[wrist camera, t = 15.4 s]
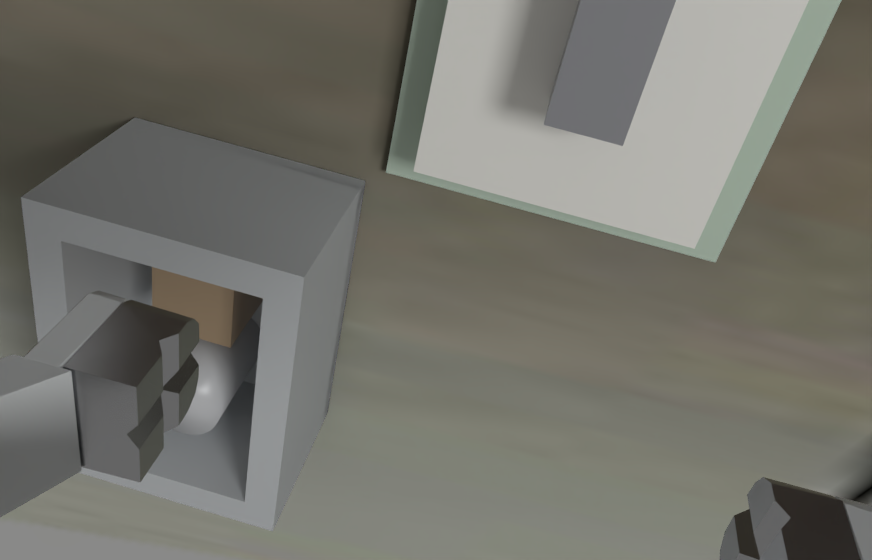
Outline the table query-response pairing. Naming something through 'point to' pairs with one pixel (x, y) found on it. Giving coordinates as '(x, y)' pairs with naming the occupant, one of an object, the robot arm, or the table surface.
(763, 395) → the table surface
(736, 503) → the table surface
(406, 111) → the mat
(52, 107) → the table surface
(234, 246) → the storage box
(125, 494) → the table surface
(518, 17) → the lid
